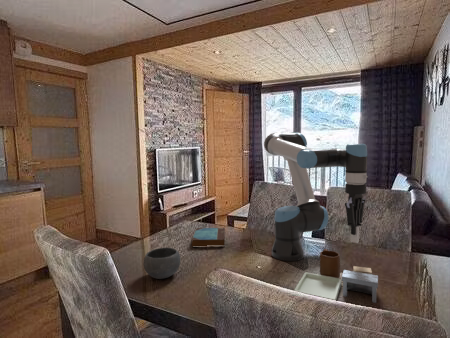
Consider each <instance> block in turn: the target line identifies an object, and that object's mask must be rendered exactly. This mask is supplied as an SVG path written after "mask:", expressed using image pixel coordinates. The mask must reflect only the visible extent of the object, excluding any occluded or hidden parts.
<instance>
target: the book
mask: <svg viewBox="0 0 450 338" xmlns="http://www.w3.org/2000/svg"><path fill="white" fill-rule="evenodd" d="M225 228H226V227H197V228H195V231H194V234H193V236H192V239H191V241H192V242H191V247H192V246H207V245H225V244H226V242H225V241H226V229H225ZM225 246H226V245H225Z"/></svg>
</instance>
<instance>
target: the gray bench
mask: <svg viewBox="0 0 450 338" xmlns="http://www.w3.org/2000/svg"><path fill="white" fill-rule="evenodd" d="M341 279H342V297H348V290H349V291H353V292H359V293H363V294H369V295H372V296H371V298H372V299H371V302H372V303H374V304H377V290H378V287H379V275H375V274H372V275H371V274H365V273H359V272H354V271H353V270H347V269H343V272H342V275H341Z"/></svg>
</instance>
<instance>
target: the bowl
mask: <svg viewBox="0 0 450 338" xmlns="http://www.w3.org/2000/svg"><path fill="white" fill-rule="evenodd" d="M180 265H181V255H180V252H179V251H178V250H177V249H175V248H173V247H158V248H155V249H151V250H149V251H148V252H147V253H145V255H144V259H143V268H144V272H146V274H147V275H148V276H150V277H151V278H154V279H157V280H158V279H159V280H163V279H167V278H170V277H171V276H173V275H174V274H176V272H177V271H178V270H179V268H180Z"/></svg>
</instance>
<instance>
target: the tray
mask: <svg viewBox="0 0 450 338" xmlns="http://www.w3.org/2000/svg"><path fill="white" fill-rule="evenodd" d="M342 285H343V281H342V278H334V277H329V276H324V275H320V274H318V273H311V272H306V271H305V272H304V273H303V275H302V276H301V278H300V280H299V282H298V283H297V285H296V286H295V288H294V290H295V291H298V292H302V293H306V294H310V295H315V296H319V297H323V298H328V299H332V300H338V297H339V293H340V290H341V287H342ZM294 290H293V291H294Z"/></svg>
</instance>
